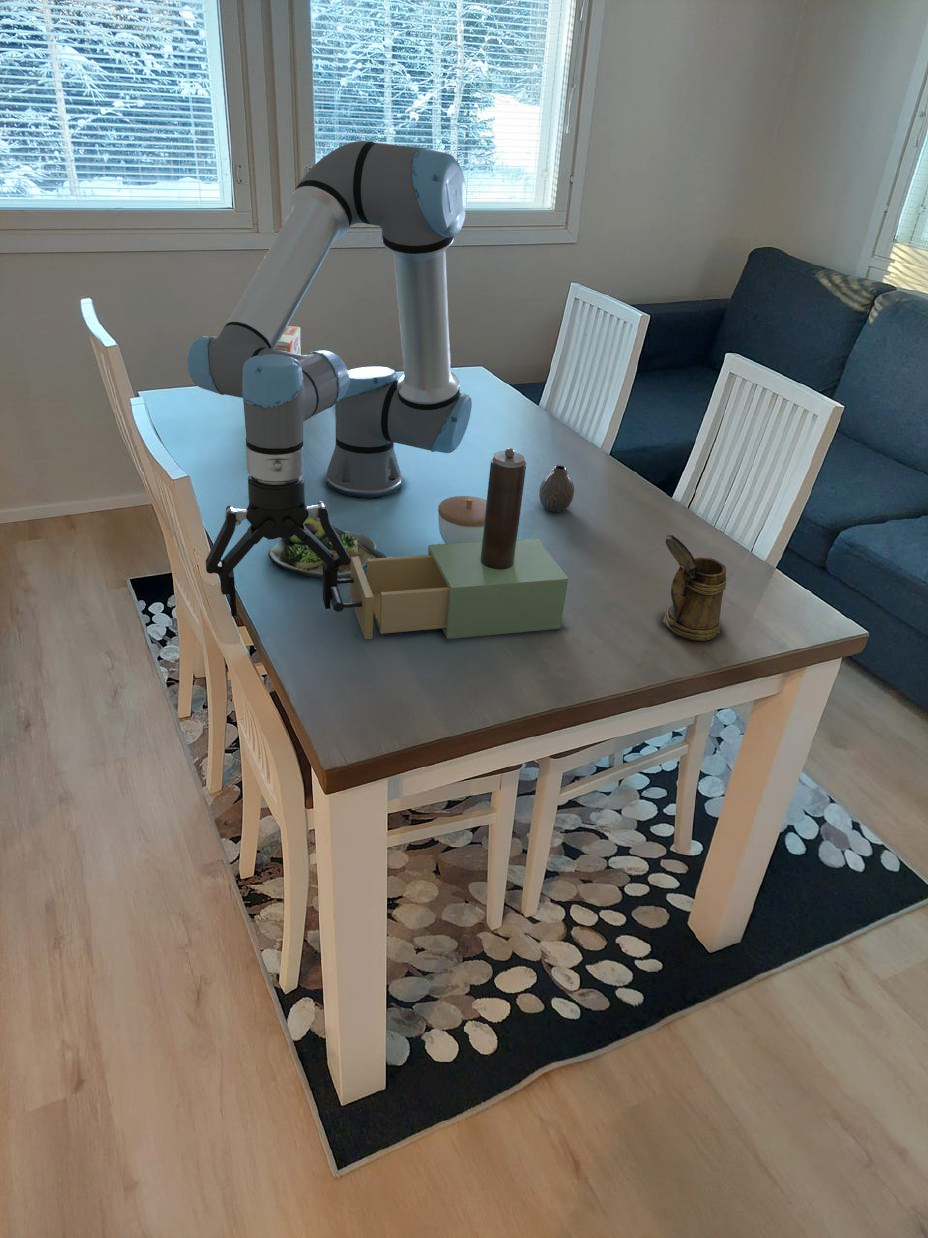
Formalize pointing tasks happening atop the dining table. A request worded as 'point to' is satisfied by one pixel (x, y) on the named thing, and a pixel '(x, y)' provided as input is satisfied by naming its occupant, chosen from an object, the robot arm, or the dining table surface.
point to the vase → (556, 490)
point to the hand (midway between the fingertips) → (280, 608)
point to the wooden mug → (695, 594)
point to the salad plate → (306, 562)
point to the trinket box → (462, 519)
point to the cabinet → (500, 590)
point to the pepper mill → (503, 509)
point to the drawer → (396, 594)
